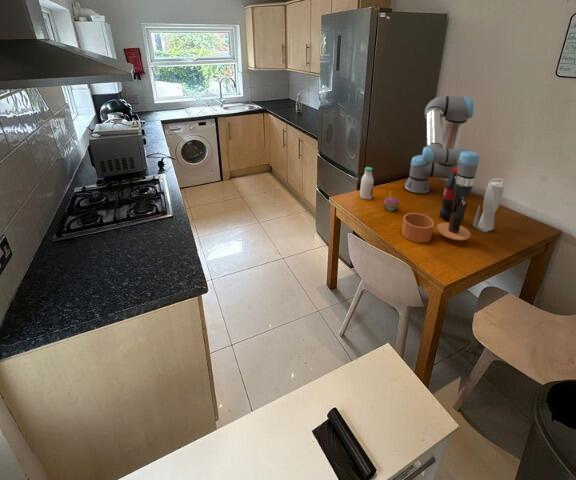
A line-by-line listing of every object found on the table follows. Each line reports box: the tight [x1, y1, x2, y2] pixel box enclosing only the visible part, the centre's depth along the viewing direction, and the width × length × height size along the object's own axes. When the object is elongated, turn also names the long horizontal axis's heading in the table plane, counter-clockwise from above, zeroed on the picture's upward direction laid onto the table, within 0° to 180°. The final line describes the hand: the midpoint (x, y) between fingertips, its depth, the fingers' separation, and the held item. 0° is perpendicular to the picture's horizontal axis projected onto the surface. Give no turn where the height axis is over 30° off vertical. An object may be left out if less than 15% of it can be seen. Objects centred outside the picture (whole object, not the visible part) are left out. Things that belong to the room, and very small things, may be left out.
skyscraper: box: [471, 177, 505, 233], centre depth 154 cm, size 8×8×28 cm
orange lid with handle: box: [436, 212, 472, 241], centre depth 149 cm, size 15×15×10 cm
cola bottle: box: [439, 168, 458, 222], centre depth 163 cm, size 8×8×30 cm
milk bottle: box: [359, 166, 375, 201], centre depth 189 cm, size 8×8×20 cm
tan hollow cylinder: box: [401, 212, 435, 244], centre depth 152 cm, size 14×14×8 cm
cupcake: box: [383, 191, 400, 212], centre depth 176 cm, size 9×8×12 cm
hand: (454, 226), depth 149 cm, fingers closed on orange lid with handle, 5 cm apart
